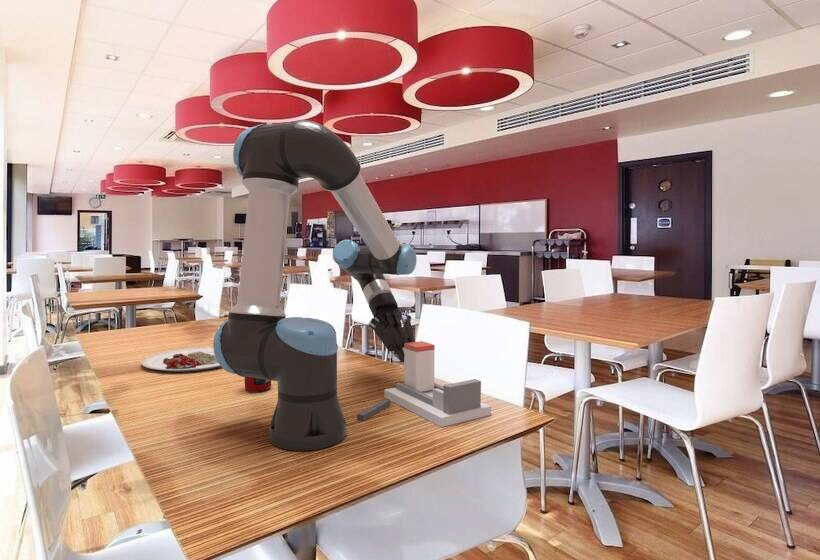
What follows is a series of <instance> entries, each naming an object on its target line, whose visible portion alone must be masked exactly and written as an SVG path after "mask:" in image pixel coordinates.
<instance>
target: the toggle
mask: <svg viewBox="0 0 820 560" xmlns="http://www.w3.org/2000/svg"><path fill="white" fill-rule="evenodd" d="M403 365H404V367H403V368H404V369H403V372H404V373H403V375H404V376H403V380H404V381H403V384H404V385H407V386H409V387H411V388H413V389H415V390H418V391H420V392H423V391H428V390H433V389H434V383H435V344H433V343H430V342H426V341H423V340H421V341H420V340H419V341H415V342H411V343H404V363H403Z"/></svg>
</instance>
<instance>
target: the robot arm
mask: <svg viewBox="0 0 820 560" xmlns="http://www.w3.org/2000/svg"><path fill="white" fill-rule="evenodd" d="M232 152H233V153H232V157H233V163H234V165H236V168H235V169H236V172H237V173H238V174H239V175H240V176H241V178H242V181H241V182H242V185H243V187H245V188H246V189H247V191H248V197H247V205H246V216H245V226H244V227H245V228H244V234H243V235H244V237H243V246H242V257H241V264H240V266H241V267H240V268H241V269H240V275H239V283H238V285H239V286H238V293H237V295H238V296H237V302H236V304H235V305H234V306H233V307H231V308H230V309H229V311H228V316H227V317H228V318H227V320H225V321H224V322H222V323H221V324H220V325H219V327H218V328H217V329H216V331H215V333H214V337H213V341H212V342H213V343H212V347H213V350H214V355H215V358H216V360H217V362H218V363H219V364H220V365H221V366H220V367H221V368H222V369H223V370H224V371H226V372H228V373H230V374H232V375H237V376H239V377H243V378H244V377H253V378H259V379H266V380H271V382H272V381H273V382H277V403H276V405H275V408H274V411H273V414H272V418H271V421H270V425H269V429H268V431H269V433H268V434H269V435H268V438H269V442H270V444H272V446H275V447H277V448H279V449H283V450H286V451H287V450H288V451H295V452H296V451H298V452H299V451H300V452H301V451H302V452H303V451H304V452H305V451H306V452H307V451H313V450H314V451H315V450H316V451H317V450H321V449H325V448H328V447H332V446H334V445H336V444H339V443H340V442H342V441H343V440H344V439H345V437H346V435H347V422H346V419H345V415H344V414H343V410H342V407H341V405H340V402H339V398H338V348H339V344H338V341H337V340H338V339H337V332H336V329H335V327H334V325H332V324H331V323H330V322H327V321H324V320H322V319H319V318H312V317H300V316H294V317H292V316H291V317H287V314H286V313H285V312H284V310H282V308H281V306H280V305H281V304H280V303H281V295H282V294H281V292H282V283H283V274H284V273H283V271H284V262H285V254H286V253H285V252H286V242H287V240H286V239H287V230H288V223H289V222H288V220H289V210H290V200H291V197H292V196H293V195H294V194H296V193H297V192H298V190H299V182H300V180H299V179H305V178H309V179H310V178H311V179H314V180H315V181H317V182H318V184H320V186H321V187H322V189H324V190H325V191H328V192H330V193H331V194H332V195H333V197H334V198H335V200H336V202H337V203H338V205H339V207H341V209H342V210H343V212H344V214H345V215H346V217H347V218H348V220H349V221H350V223H351V224H352V226H353V227H354V229H355V230H356V232H357V233H358V234H359V236H360V238H361V239H362V241H363V242H364V244H365V245H358V244H357V243H356V242H355V241H354V240H351V239H343V240H341V241H339V242H338V243H337V244H336V245H335V246H334V248H333V251H332V260H333V262H335V263H336V265H338V267H339V268H340V269H342V270H343V271H345V272H346V273H347V274H349V275H350V276H351V277H352V278H353V279H355V280H356V282H357V283H358V284H359V286H360V289H361V292H363V295H364V298H365V300H366V302H367V304H368V308H369V310H370V312H371V315H372V316H373V318H371V320H370V321H369V322H368V327H369V328H370V329H372V330H373V331H374V332H375V334H376V335H377V337H378V338H379V340H380V341H381V342H382V344H383V345H384V346H385V348H386V349H387V351H388V352H393V354H394V355H395V356H396V355H397V358H398V360H399V361H400V362H401V363H402V364H404V343H411V342H416V340H415V336H414V332H413V327H412V323H411V322H412V321H411V320H412V316H411V315H410V314H409V315H408V314H407V316H406V315H405V314H403V313H402V312H401V310H400V309H399V307H398V301H397V300H396V298H395V296H394V294H393V291H392V289H391V288H390V285H389V283H388V282H387V279H386V277H385V275H392V276H393V275H394V276H395V275H396V276H401V275H411V274H412V273H413V272H414V271H415V269H416V266H417V253H416V251H415V248H413V247H411V246H409V245H401V243H400V241H399V239H398V238H397V237H396V236H397V235H395V232H394V231H393V229H392V228H391V226H390V224H389V223H388V221H387V219H386V217H385V216H384V214H383V211H382V210H381V208H380V207H379V205H378V203H377V201H376V200H375V198H374V196H373V194H372V193H371V190H370V189H369V187H368V185H367V184H366V182H365V180H364V179H363V177H362V175H361V170H362V165H361V164H360V162H359V160H358V158H357V156H356V155H355V153H354V151H352V149H351V148H350V147H349V146H348V145H347V144H346V142H345V141H344V140H343V139H342V138H341V137H340V136H339V135H337V134H336V133H335V132H334V131H332V130H331V128H330V129H329V128H328V127H326V126H325V125H324V124H321V123H319V122H317V121H313V120H309V119H308V120H307V119H298V120H295V121H285V122H279V123H277V122H276V123H261V124H258V125H255V126H252V127H247V128H246V129H244V130H242V131H241V133H240V134H239V135H238V136H237V138H236V140H235V142H234V145H233V151H232Z"/></svg>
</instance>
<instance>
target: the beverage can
mask: <svg viewBox="0 0 820 560" xmlns="http://www.w3.org/2000/svg"><path fill="white" fill-rule="evenodd" d="M243 379H244V388H245V389H246V390H247V391H249V392H251V393H252V392H253V393H258V392H259V393H260V392H261V393H262V392H264V391H267V390H268V389H269V388H271V387H272V380H266V379H259V378H253V377H243Z"/></svg>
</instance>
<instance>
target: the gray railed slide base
mask: <svg viewBox="0 0 820 560" xmlns="http://www.w3.org/2000/svg"><path fill="white" fill-rule="evenodd" d="M481 396H482V380H479V379H477V378H476V379H475V378H474V379H469V380H463V381H457V382H453V383H448V384H443V386H442V385H441V384H438V383H436V382H434V389H433V390H428V391H423V392H420V391H418V390H415V389H413V388H411V387H409V386H407V385H404V383H402V382H396V383H395V387H391V388H390V387H389V388H386V389H384V399H387V400H390V402H393V403H395V404H397V405H399V406H400V407H402V408H404V409H406V410H408V411H410V412H412V413H413V414H416V415H417V416H419V417H422V418H423V419H425V420H427V421H428V422H431V423H433V424H434V425H436V426H439V427H440V428H443V427H448V426H451V425H456V424H460V423H465V422H467V421H468V422H469V421H472V420H476V419H481V418H485V417H489V416H491V415H492V406H491V405H489V404H486V403H484V402H482V401H481V400H482V399H481V398H482V397H481Z"/></svg>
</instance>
